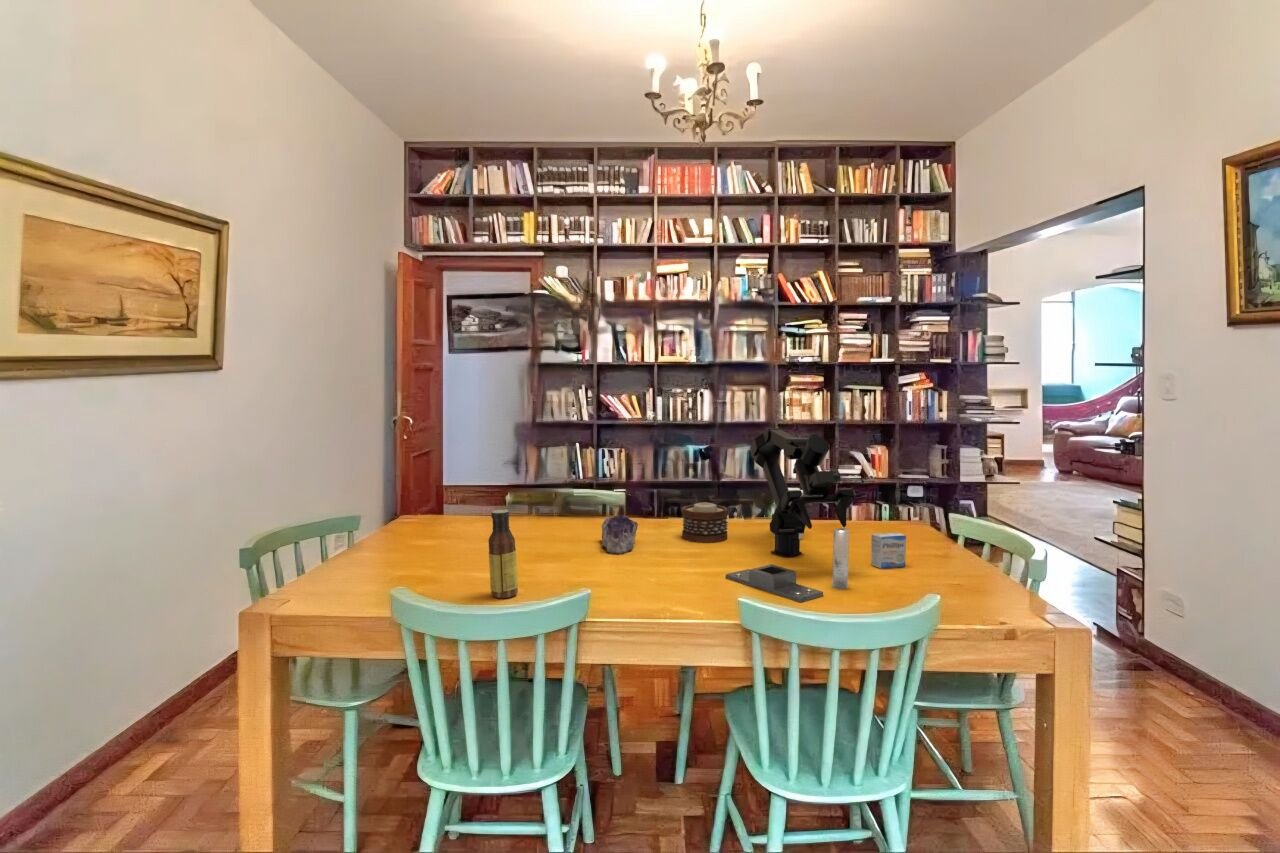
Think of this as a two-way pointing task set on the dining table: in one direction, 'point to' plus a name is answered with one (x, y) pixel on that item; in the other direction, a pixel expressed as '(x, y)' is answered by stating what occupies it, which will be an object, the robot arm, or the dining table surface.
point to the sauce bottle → (502, 557)
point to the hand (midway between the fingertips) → (827, 527)
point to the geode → (618, 534)
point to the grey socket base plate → (775, 582)
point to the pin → (840, 558)
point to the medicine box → (888, 550)
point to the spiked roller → (704, 523)
